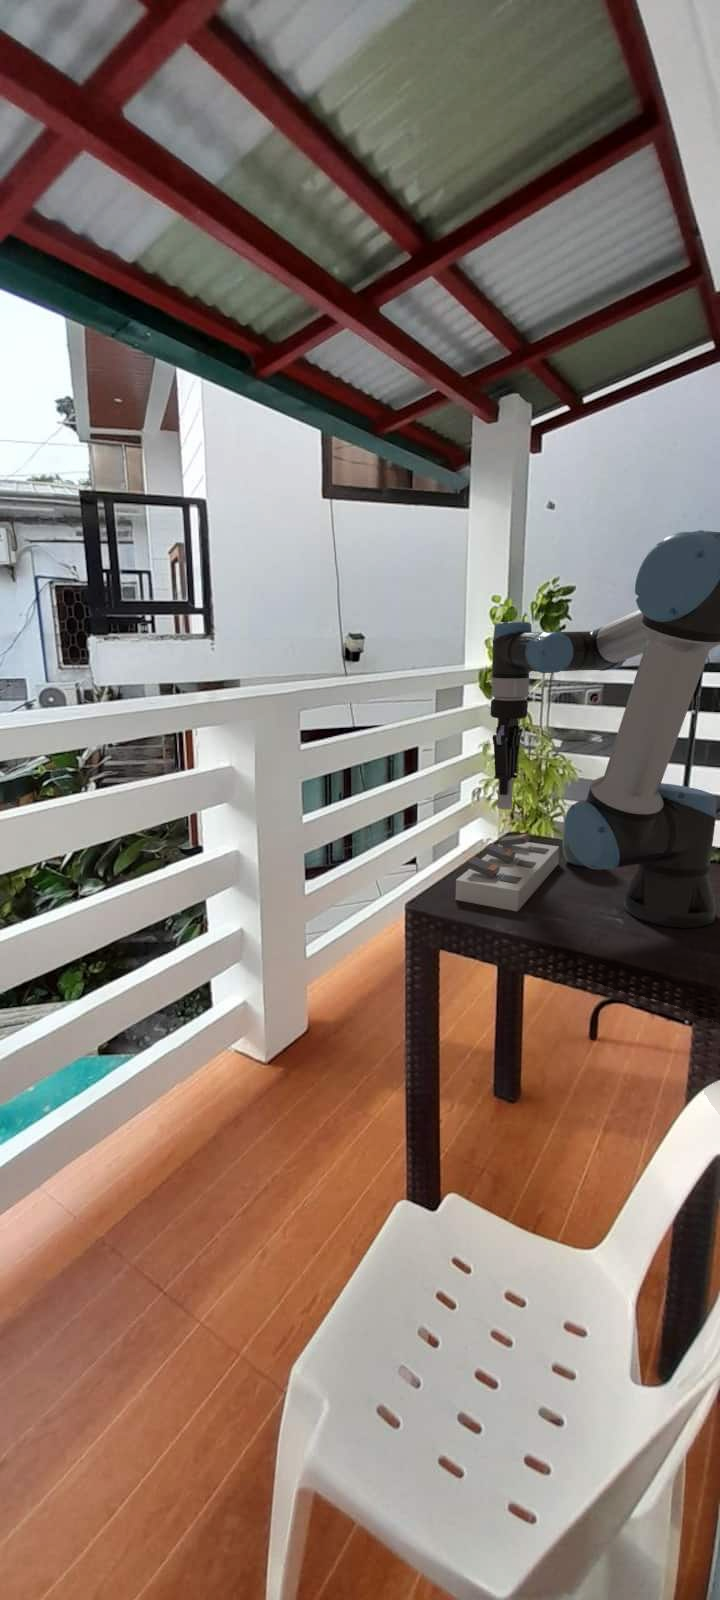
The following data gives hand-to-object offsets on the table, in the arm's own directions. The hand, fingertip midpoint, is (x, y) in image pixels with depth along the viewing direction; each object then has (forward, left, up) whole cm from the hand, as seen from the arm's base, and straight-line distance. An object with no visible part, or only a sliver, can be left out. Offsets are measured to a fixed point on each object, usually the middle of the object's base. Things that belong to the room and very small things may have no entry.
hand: (504, 808), depth 151 cm
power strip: (-5, +6, -12) cm, 15 cm away
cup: (-15, -8, -13) cm, 21 cm away
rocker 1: (-3, +20, -7) cm, 21 cm away
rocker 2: (-3, +10, -7) cm, 12 cm away
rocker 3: (-3, 0, -7) cm, 7 cm away
